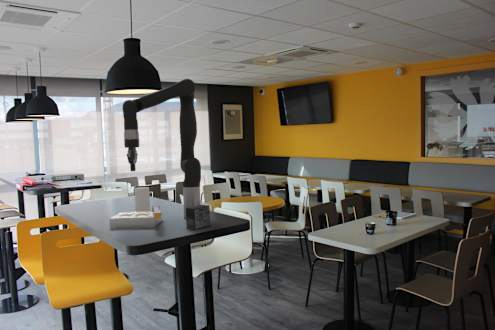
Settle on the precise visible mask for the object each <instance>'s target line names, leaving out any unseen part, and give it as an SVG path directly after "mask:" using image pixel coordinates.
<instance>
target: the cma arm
mask: <svg viewBox="0 0 495 330" xmlns="http://www.w3.org/2000/svg"><path fill="white" fill-rule="evenodd" d="M160 208H161V207H160V205H152V206H151V209H152V210H151V211H152V212H153V213H154V220H158V219H161V212H160V211H161V210H160Z"/></svg>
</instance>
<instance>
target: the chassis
mask: <svg viewBox="0 0 495 330" xmlns="http://www.w3.org/2000/svg"><path fill="white" fill-rule="evenodd" d="M160 212H161V219H158V220H154V213H153V212H152V210H150V211H142V212H135V211H120V212H119V213H116V214H115V215H113V216H111V217H110V218H109V229H115V230H116V229H141V228H144V229H145V228H155V227H156V226H158V225H159V224H160V223H161V221H163V218H162V216H163V215H162V213H163V212H162V210H160Z"/></svg>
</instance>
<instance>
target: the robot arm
mask: <svg viewBox="0 0 495 330" xmlns="http://www.w3.org/2000/svg"><path fill="white" fill-rule="evenodd" d="M195 93H196V84H195V81H193V80H192V79H190V78H183V79H181V80H180V81H178V82H177V83H174V84H172V85H170V86H167V87H166V88H163V89H162V88H161V89H160V90H156V91H153V92H152V91H151V92H150V93H148V94H143V95H141V96H140V97H138V98H136V99H133V100H131V99H128V100H125V101H124V102H123V104H122V115H123V128H124V131H123V139H124V140H123V141H124V148H127V149H128V150H127V153H126V157H127V162H128V164H130V165H129V166H130V167H129V168H130V171H131V172H136V163H137V161H138V155H139V154H138V151H137V149H136V148H139V147H140V134H139V123H138V118H137V116H138V115H137V113H139V112H141V111H144V110H147V109H150V108H153V107H155V106H158V105H161V104H162V103H165V102H168V101H169V100H172V99H175V98H179V103H180V104H179V105H180V109H179V138H180V139H179V140H180V166H179V167H180V169H181V171H182V172H183V174H184V180H183V182H182V197H183V198H182V201H183V219H185V220H186V208H188V207H193V206H198V205H202V200H201V179H202V167H201V166H202V165H201V162H200V160H199V159H198V158H196V157H195V143H196V140H197V135H198V126H197V125H198V123H197V117H196V115H197V114H196V111H195V103H194V102H195Z"/></svg>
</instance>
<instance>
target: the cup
mask: <svg viewBox="0 0 495 330" xmlns="http://www.w3.org/2000/svg"><path fill="white" fill-rule="evenodd" d="M133 189H134V203H135V204H134V205H135V206H134V207H135V209H134V212H142V211H151V200H150V187H149V186H143V187H142V186H140V187H134V188H133Z"/></svg>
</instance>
